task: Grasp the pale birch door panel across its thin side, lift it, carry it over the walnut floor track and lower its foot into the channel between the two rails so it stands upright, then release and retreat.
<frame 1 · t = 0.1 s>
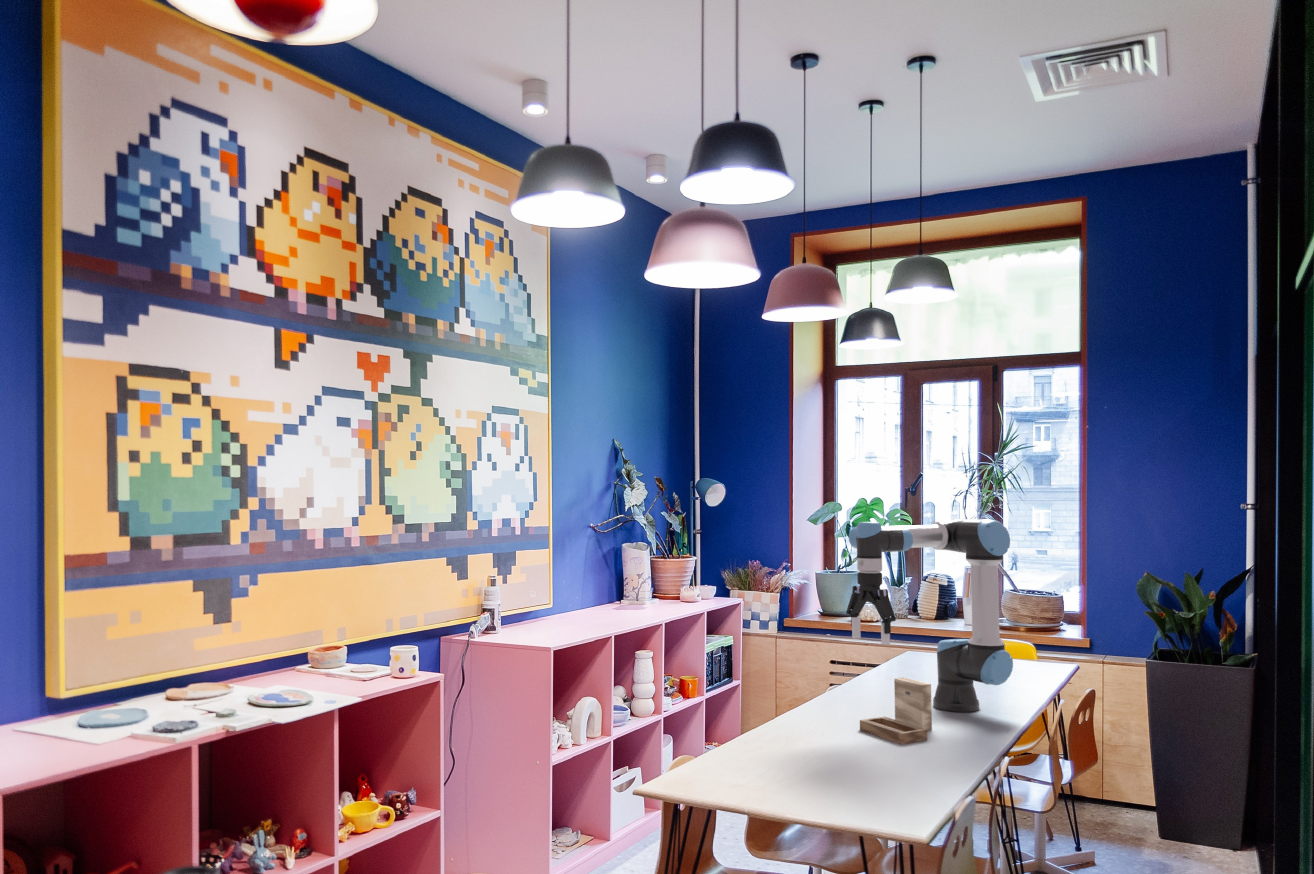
hand: (870, 641, 281), 28 cm above the table, fingers open, 13 cm apart
panel: (913, 726, 288), on the table
track: (892, 734, 277), on the table
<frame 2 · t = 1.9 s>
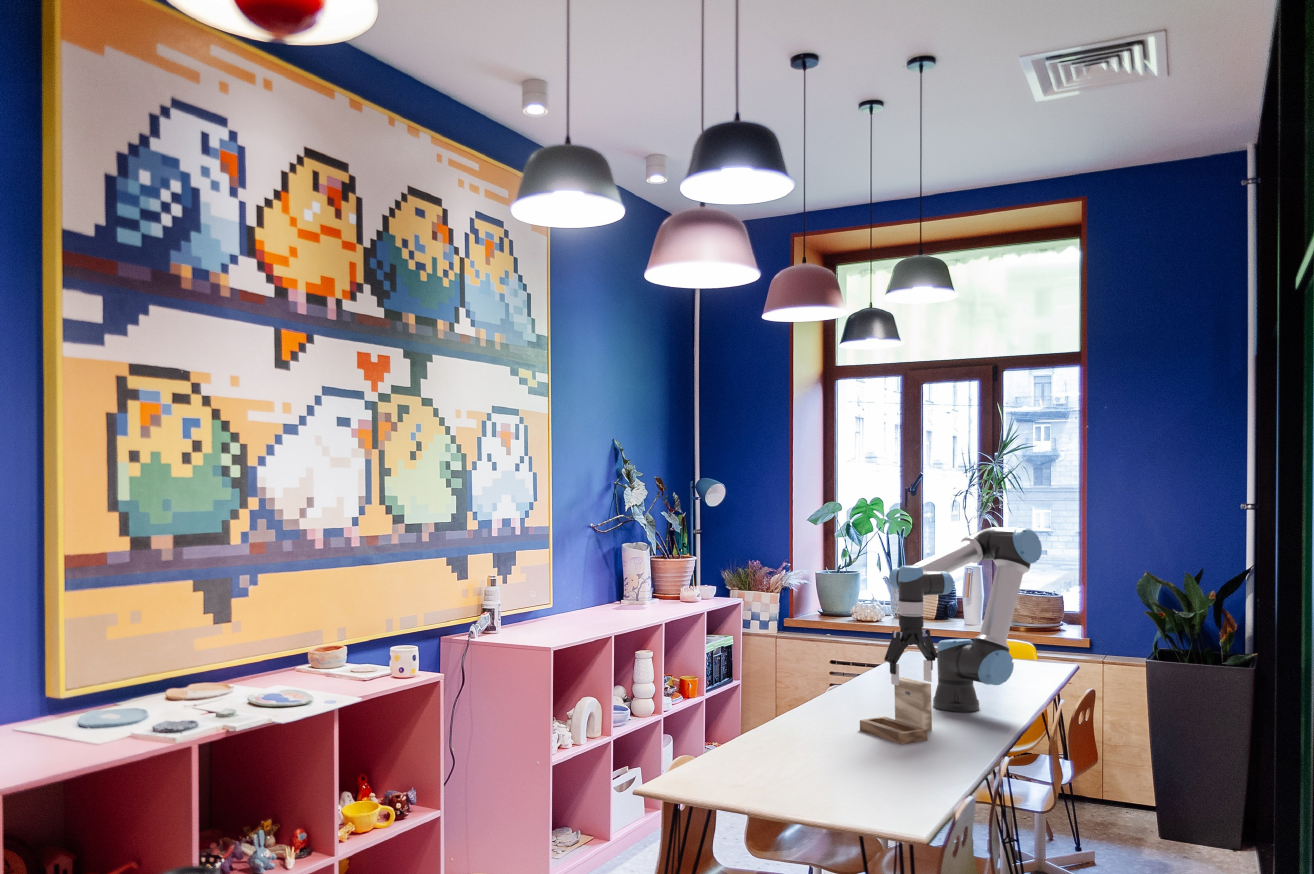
hand: (911, 682, 288), 13 cm above the table, fingers open, 13 cm apart
nothing on the table moved.
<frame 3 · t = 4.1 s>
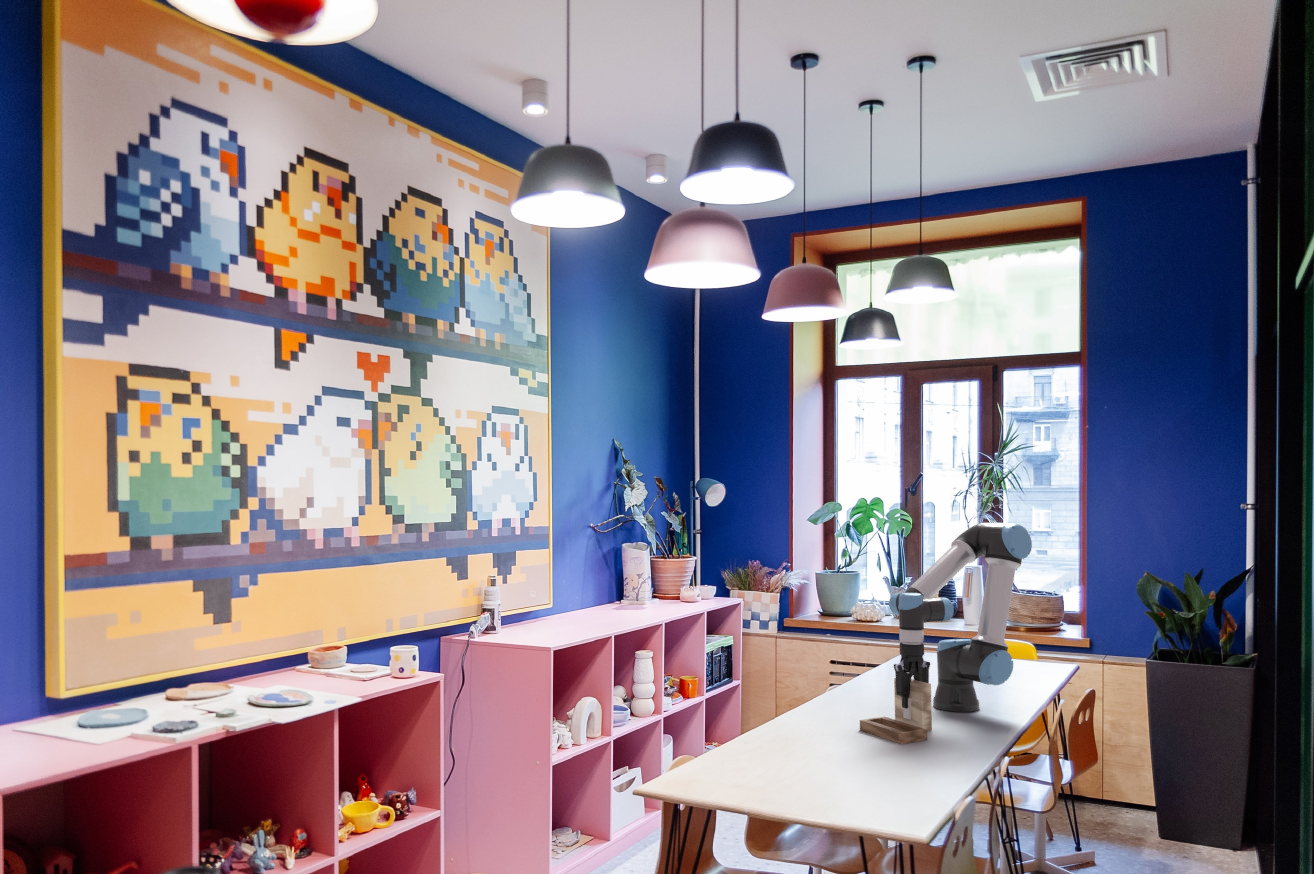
hand: (913, 717, 288), 3 cm above the table, fingers closed on panel, 4 cm apart
panel: (913, 726, 288), on the table, touching gripper
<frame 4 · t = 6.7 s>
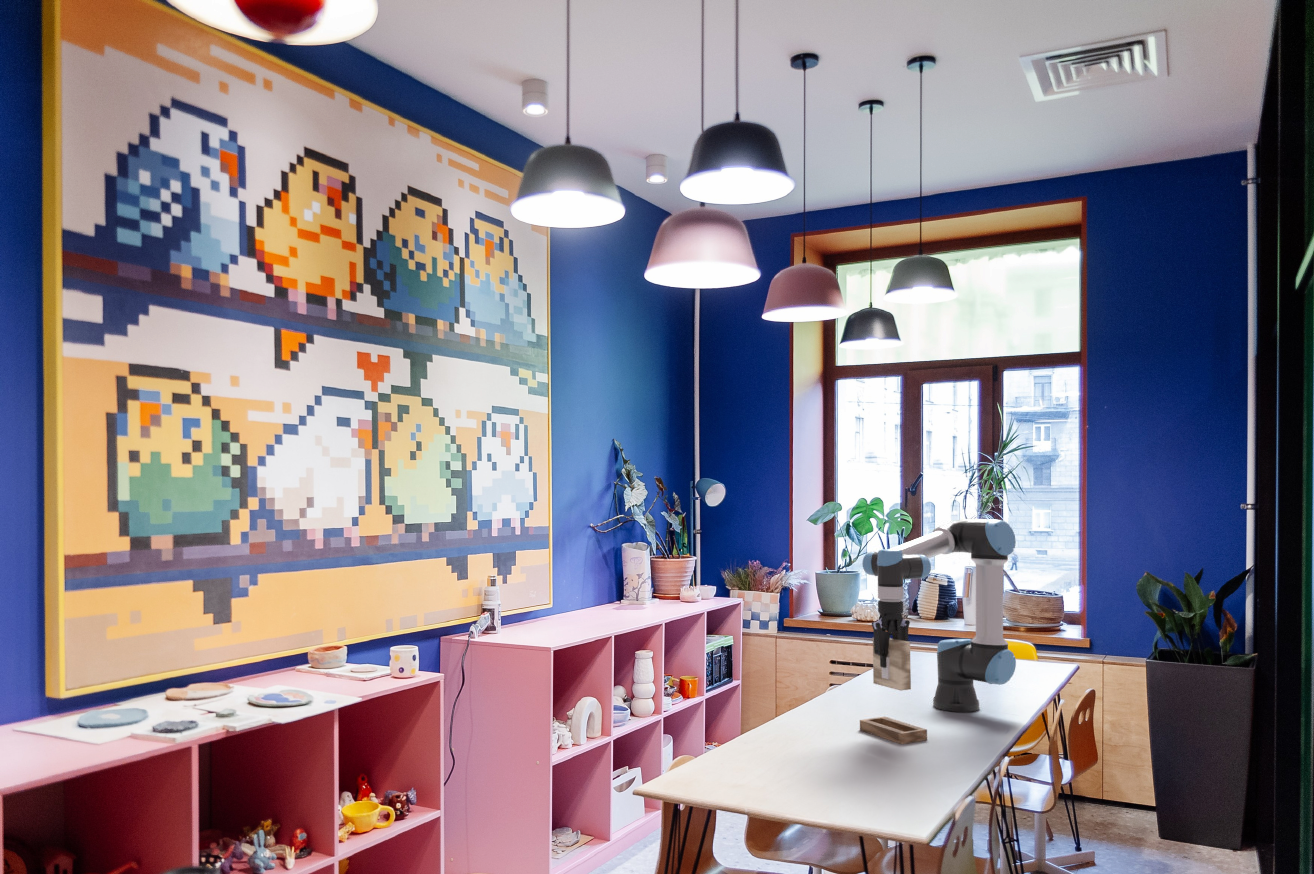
hand: (891, 677, 278), 17 cm above the table, fingers closed on panel, 4 cm apart
panel: (891, 686, 278), point 15 cm above the table, touching gripper
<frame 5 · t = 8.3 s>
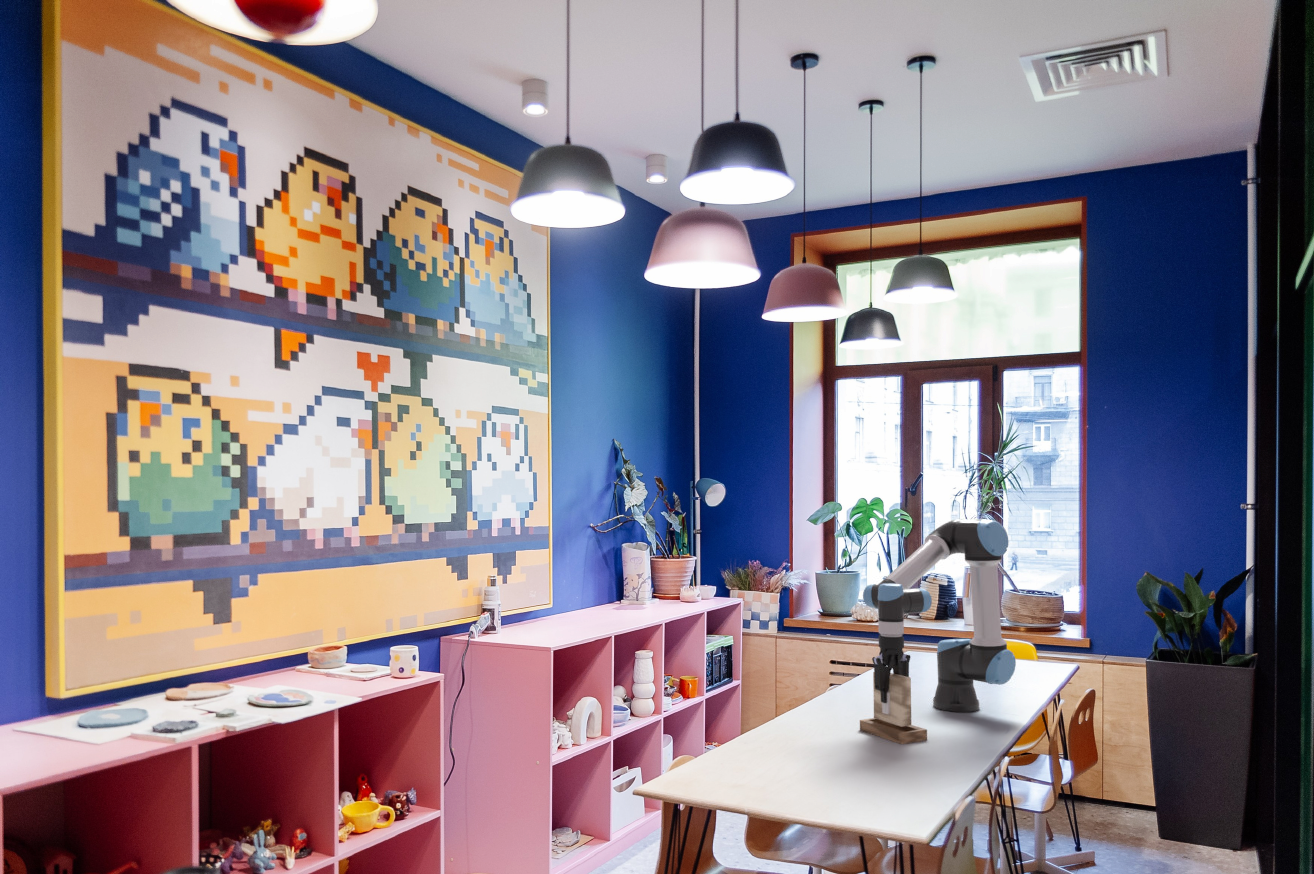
hand: (892, 712, 277), 7 cm above the table, fingers closed on panel, 4 cm apart
panel: (892, 721, 277), point 4 cm above the table, touching gripper
when the fingers open (5 cm above the table, at t = 9.7 s): panel drops 1 cm, resting on track.
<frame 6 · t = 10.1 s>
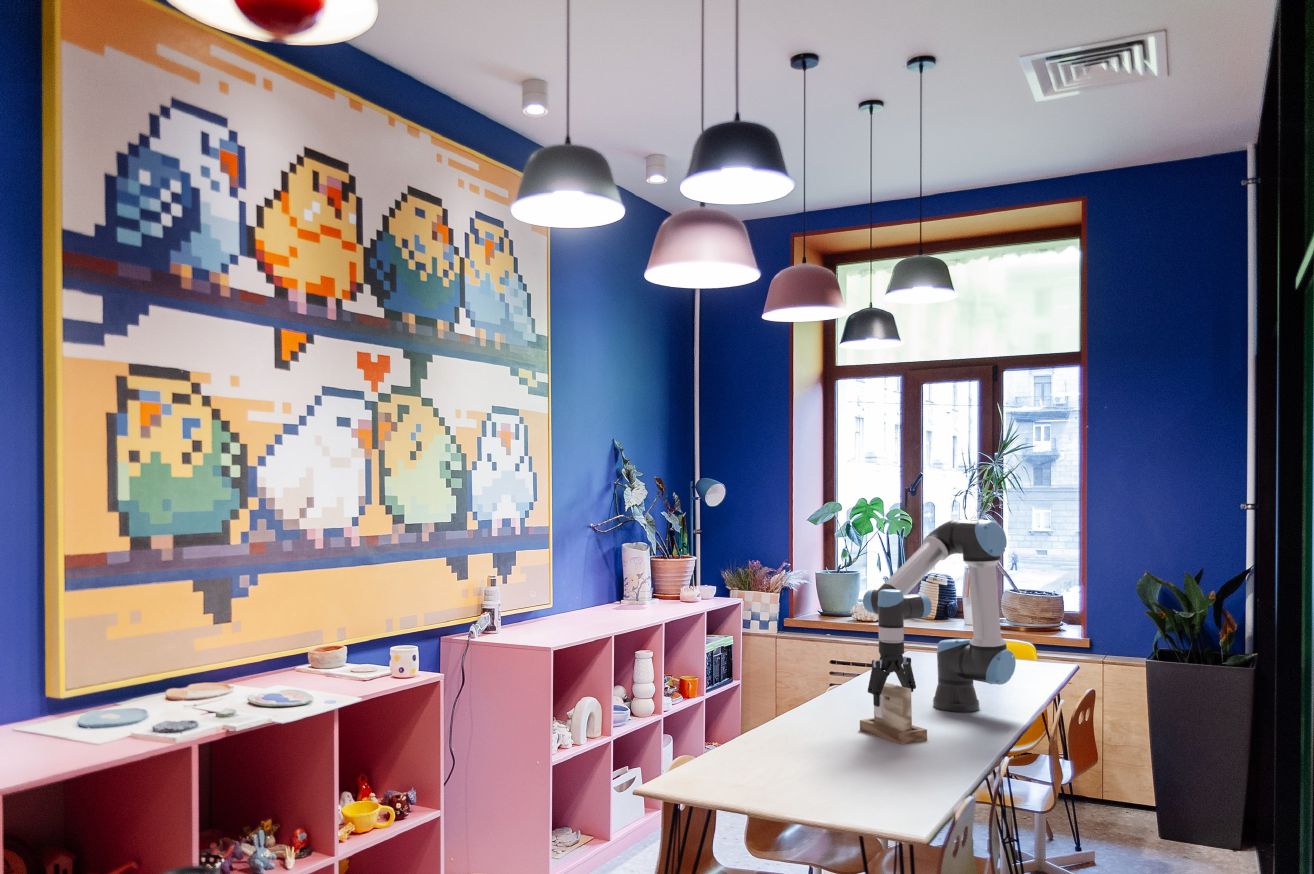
hand: (892, 714, 277), 6 cm above the table, fingers open, 10 cm apart
panel: (893, 732, 277), point 1 cm above the table, touching track
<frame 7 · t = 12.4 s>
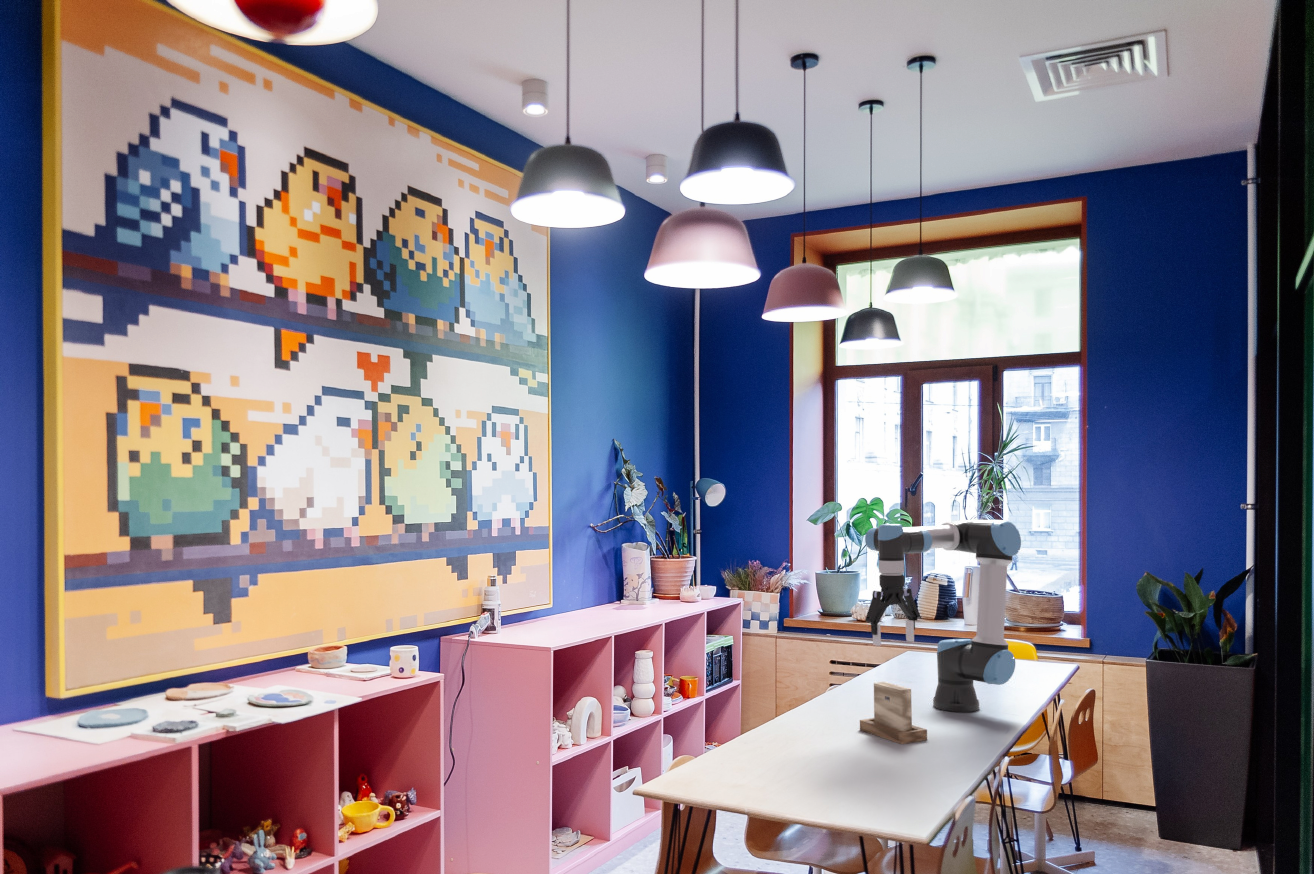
hand: (893, 643, 281), 27 cm above the table, fingers open, 13 cm apart
nothing on the table moved.
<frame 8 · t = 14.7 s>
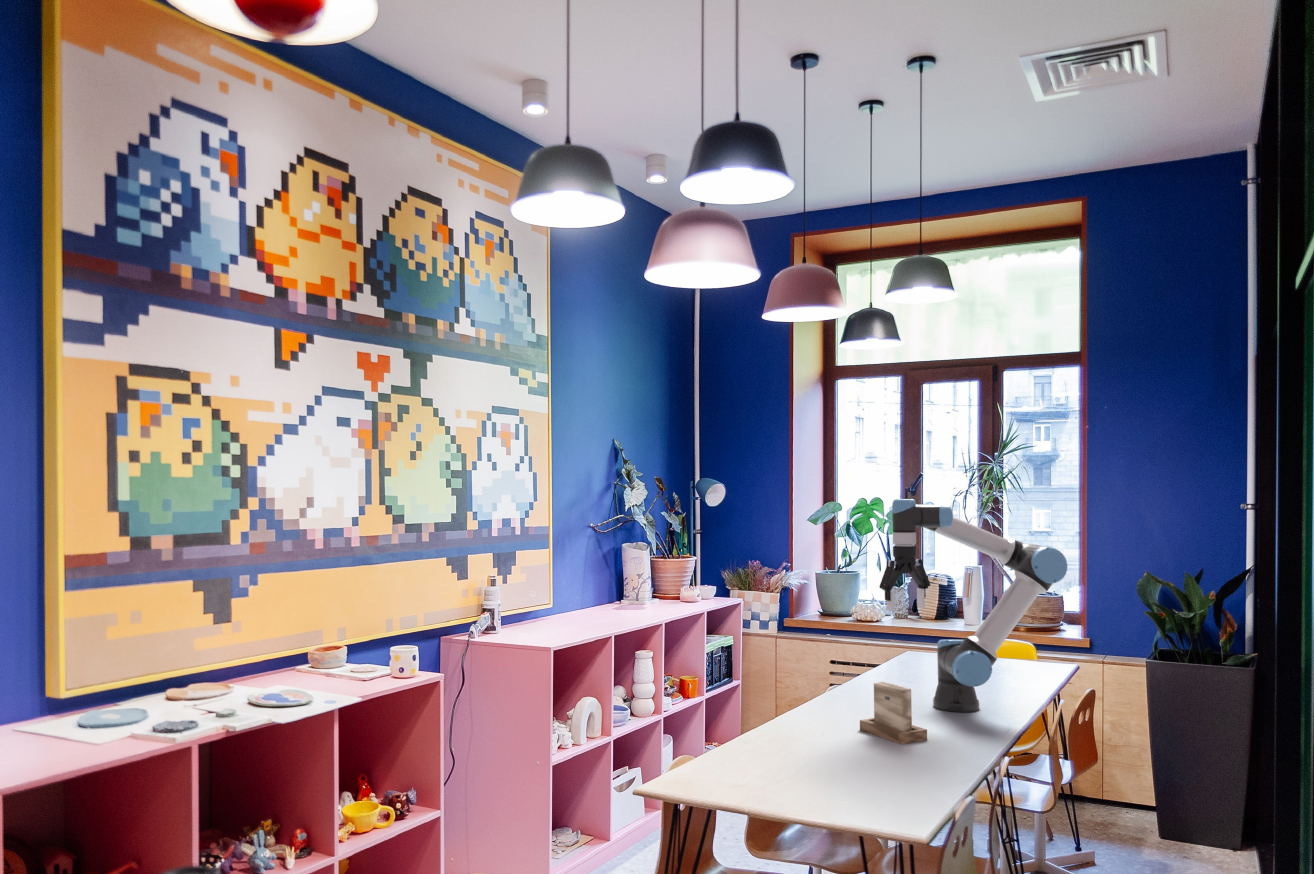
hand: (905, 609, 303), 35 cm above the table, fingers open, 13 cm apart
nothing on the table moved.
at the end: panel 0.1 cm off-centre on the track, point 0.6 cm above the track's base; panel tilted 0°; the gripper is holding nothing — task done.
